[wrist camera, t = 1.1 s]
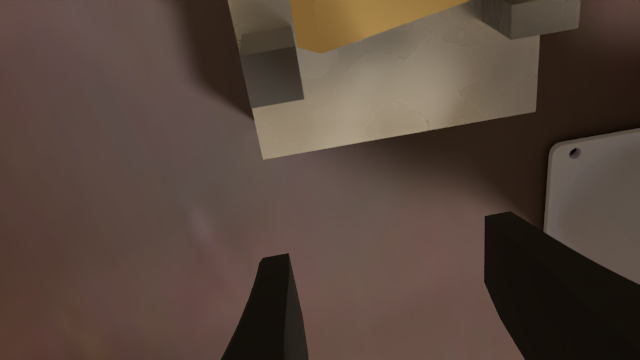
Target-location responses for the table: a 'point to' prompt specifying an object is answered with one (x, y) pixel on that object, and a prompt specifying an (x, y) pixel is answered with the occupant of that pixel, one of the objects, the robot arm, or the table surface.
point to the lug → (271, 67)
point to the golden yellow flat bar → (355, 19)
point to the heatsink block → (408, 73)
